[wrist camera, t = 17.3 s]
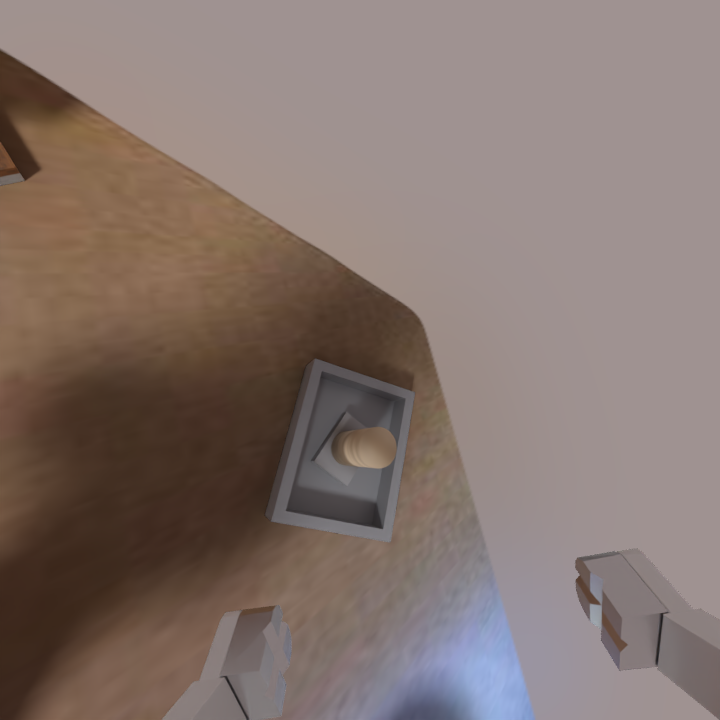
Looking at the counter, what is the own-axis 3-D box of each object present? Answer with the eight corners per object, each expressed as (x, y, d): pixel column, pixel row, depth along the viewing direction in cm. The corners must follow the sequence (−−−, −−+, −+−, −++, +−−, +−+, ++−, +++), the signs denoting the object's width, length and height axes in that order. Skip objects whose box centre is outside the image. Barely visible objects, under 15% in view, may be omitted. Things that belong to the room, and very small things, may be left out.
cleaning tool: (342, 485, 44) (380, 493, 35) (310, 461, 43) (340, 463, 34) (371, 436, 46) (413, 432, 38) (342, 413, 46) (377, 403, 37)
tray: (375, 535, 45) (390, 542, 41) (264, 515, 40) (271, 521, 37) (399, 396, 51) (415, 392, 47) (305, 365, 46) (315, 358, 43)
